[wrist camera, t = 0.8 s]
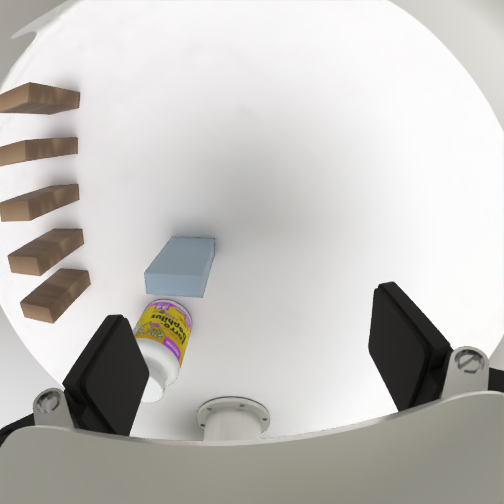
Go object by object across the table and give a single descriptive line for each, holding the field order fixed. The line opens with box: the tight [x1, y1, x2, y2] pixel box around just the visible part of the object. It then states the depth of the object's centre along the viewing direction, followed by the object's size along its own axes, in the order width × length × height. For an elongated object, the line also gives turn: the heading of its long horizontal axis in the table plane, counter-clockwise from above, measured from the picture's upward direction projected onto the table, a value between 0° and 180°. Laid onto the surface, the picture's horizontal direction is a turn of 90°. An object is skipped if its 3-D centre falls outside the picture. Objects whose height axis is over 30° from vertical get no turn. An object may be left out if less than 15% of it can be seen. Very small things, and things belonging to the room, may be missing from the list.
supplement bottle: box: [133, 300, 192, 402], centre depth 30 cm, size 7×7×13 cm
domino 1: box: [0, 82, 80, 115], centre depth 21 cm, size 2×5×10 cm, turn 87°
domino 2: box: [0, 138, 78, 166], centre depth 23 cm, size 2×5×10 cm, turn 87°
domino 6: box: [144, 237, 215, 298], centre depth 28 cm, size 2×5×10 cm, turn 87°
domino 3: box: [0, 184, 79, 222], centre depth 25 cm, size 2×5×10 cm, turn 87°
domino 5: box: [20, 269, 90, 324], centre depth 29 cm, size 2×5×10 cm, turn 87°
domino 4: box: [8, 229, 84, 276], centre depth 27 cm, size 2×5×10 cm, turn 87°
